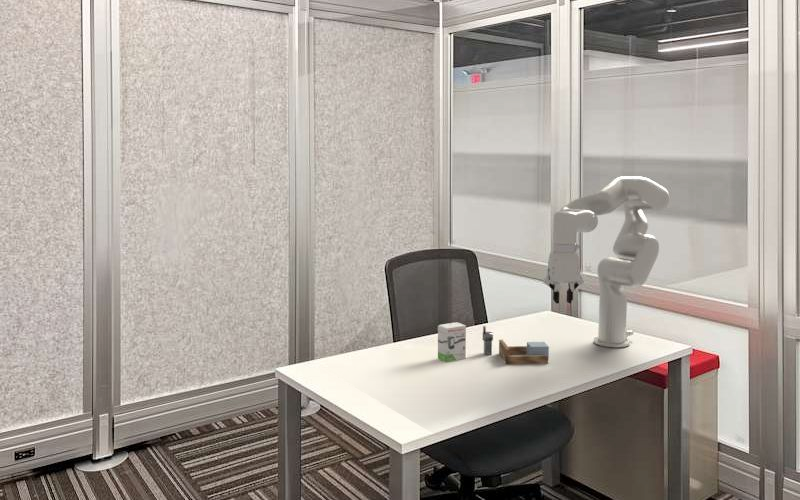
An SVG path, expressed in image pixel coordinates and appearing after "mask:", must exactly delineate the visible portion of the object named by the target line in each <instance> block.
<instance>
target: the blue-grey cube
mask: <svg viewBox="0 0 800 500" xmlns="http://www.w3.org/2000/svg"><path fill="white" fill-rule="evenodd" d="M526 346H527V354H526V356H527V355H548V360H549V357H550V356H549V355H550V354H549V352H550V351H549V350H550V346H549V345H548V344H547V343H546V342H545V341H526Z"/></svg>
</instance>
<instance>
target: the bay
mask: <svg viewBox="0 0 800 500" xmlns="http://www.w3.org/2000/svg"><path fill="white" fill-rule="evenodd" d="M498 354H499V356H500V357H501V359H502V360H503V362H504V364H505V365H522V364H523V365H524V364H525V365H529V364H530V365H531V364H533V365H534V364H535V365H536V364H539V365H540V364H549V359H548V355H527V345H520V346H519V345H515V346H508V344H507V343H506V342H505V341H504V340H503V339H499V340H498Z"/></svg>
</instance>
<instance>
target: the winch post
mask: <svg viewBox="0 0 800 500" xmlns="http://www.w3.org/2000/svg"><path fill="white" fill-rule="evenodd" d="M482 328H483V329H482V330H483V332H482V341H483V354H484V356H489V355H490V356H492V354H493V352H492V349H493V348H492V347H493V344H492V343H493V340H494V332H493V331H492V332H491V331H486V328H487V327H486V325H483V327H482Z"/></svg>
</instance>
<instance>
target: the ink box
mask: <svg viewBox="0 0 800 500" xmlns="http://www.w3.org/2000/svg"><path fill="white" fill-rule="evenodd" d="M466 336H467V325H465V324H462V323H461V322H458V321H457V322H450V323H449V322H447V323H444V324H443V323H442V324H439V325H437V360H440V361H441V362H442V361H443V362H444V363H447V362H448V363H449V362H453V361H454V362H455V361H459V360H465V359H466V358H467V357H466V356H467V355H466V351H467V350H466V348H467V347H466V345H467V344H466V343H467V340H466V339H467V337H466Z"/></svg>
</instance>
